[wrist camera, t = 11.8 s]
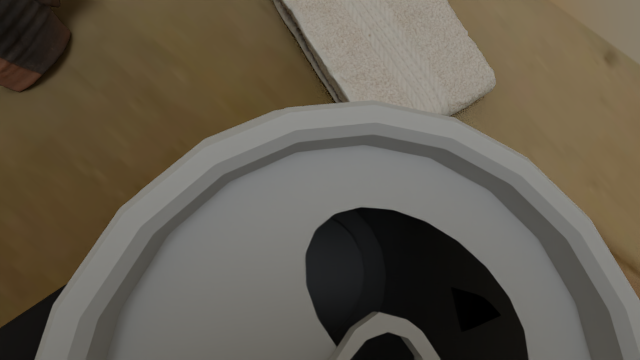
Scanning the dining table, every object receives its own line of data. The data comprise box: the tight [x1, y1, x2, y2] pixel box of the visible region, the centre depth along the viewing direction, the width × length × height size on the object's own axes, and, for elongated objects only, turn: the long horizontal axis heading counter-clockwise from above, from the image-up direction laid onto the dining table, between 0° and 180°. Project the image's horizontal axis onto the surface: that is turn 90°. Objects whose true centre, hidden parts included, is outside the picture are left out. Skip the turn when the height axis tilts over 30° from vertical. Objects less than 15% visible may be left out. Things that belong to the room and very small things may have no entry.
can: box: [35, 100, 640, 360], centre depth 8 cm, size 8×8×12 cm
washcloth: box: [273, 0, 496, 116], centre depth 23 cm, size 12×18×3 cm, turn 32°
